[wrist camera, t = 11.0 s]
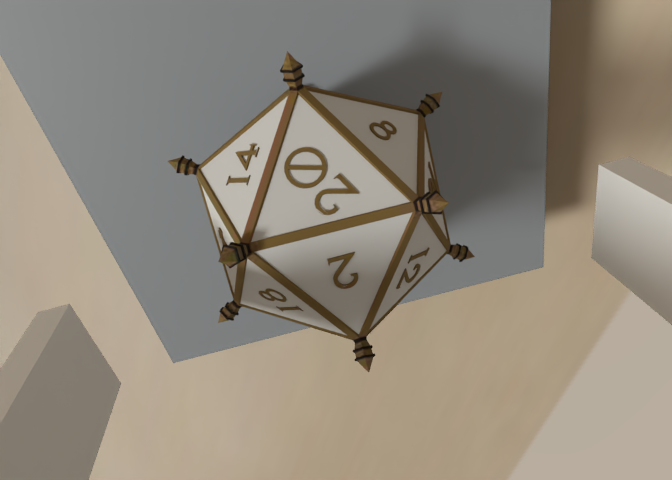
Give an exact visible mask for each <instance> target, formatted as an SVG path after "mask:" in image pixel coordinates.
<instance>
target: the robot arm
mask: <svg viewBox="0 0 672 480" xmlns="http://www.w3.org/2000/svg"><path fill="white" fill-rule="evenodd" d="M591 258H592V259H594V260H595V261H596V262H597V263H598V264H600V265H601V266H602V267H603V268H604V269H606V270H607V271H608V272H609V273H610V274H612V275H613V276H614V277H615V278H616V279H617V280H619V281H620V282H621V283H622V284H623V285H625V286H626V287H627V288H628V289H629V290H631V291H632V292H633V293H634V294H635V295H637V296H638V297H639V298H640V299H641V300H643V301H644V302H645V303H646V304H647V305H649V306H650V307H651V308H652V309H653V310H655V311H656V312H657V313H658V314H659V315H661V316H662V317H663V318H664V319H665V320H666V321H668V322H669V323H670V324H671V325H672V177H670V176H668V175H666V174H664V173H662V172H660V171H658V170H656V169H654V168H651V167H649V166H647V165H645V164H643V163H641V162H639V161H637V160H635V159H633V158H631V157H626V158H622V159H618V160H615V161H611V162H607V163H603V164H599V169H598V182H597V194H596V207H595V219H594V232H593V244H592V257H591ZM120 385H121V382H120V381H119V379H118V378H117V376H116V375H115V373H114V372H113V370H112V369H111V367H110V365H109V364H108V362H107V361H106V359H105V358H104V356H103V355H102V353H101V352H100V350H99V349H98V347H97V345H96V344H95V342H94V341H93V339H92V338H91V336H90V335H89V333H88V332H87V330H86V328H85V327H84V325H83V324H82V322H81V321H80V319H79V318H78V316H77V315H76V313H75V311H74V310H73V308H72V307H71V305H70V304H68V305H64V306H60V307H56V308H52V309H49V310H45V311H41V312H38V313H37V315H36V316H35V318H34V319H33V321H32V322H31V324H30V325H29V327H28V328H27V330H26V331H25V333H24V334H23V336H22V337H21V339H20V340H19V342H18V343H17V345H16V346H15V348H14V349H13V351H12V353H11V354H10V356H9V357H8V359H7V360H6V362H5V363H4V365H3V366H2V368H1V369H0V480H89V477H90V474H91V471H92V468H93V465H94V462H95V459H96V456H97V453H98V450H99V447H100V444H101V441H102V438H103V435H104V433H105V430H106V427H107V424H108V421H109V418H110V415H111V412H112V409H113V406H114V403H115V400H116V397H117V394H118V391H119V388H120Z"/></svg>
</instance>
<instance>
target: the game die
mask: <svg viewBox="0 0 672 480" xmlns="http://www.w3.org/2000/svg"><path fill="white" fill-rule="evenodd" d="M302 67H303V65H302V64H301V63H299V62H298V61H296V60H295V59H294V58H293V57H292V55H291V54H290V53H289V52H288V51H287V53H286V57H285V61H284V64H283V66H282V68H281V69H280V72H281V73H283V75H284V78H283V81H284V82H286V83H287V84H288V86H289V89H288V90H286V91H285V92H284V93H283V94H282V95H281V96H279V97H278V98H277V99H276V100H275V101H274V102H272V103H271V104H270V105H269V106H268V107H267V108H265V109H264V110H263V111H262V112H261V113H259V114H258V115H257V116H256V117H255V118H254V119H252V120H251V121H250V122H249V123H248V124H247V125H245V126H244V127H243V128H242V129H241V130H240V131H238V132H237V133H236V134H235V135H234V136H233V137H231V138H230V139H229V140H228V141H227V142H226V143H224V144H223V145H222V146H221V147H220V148H219V149H217V150H216V151H215V152H214V153H213V154H212V155H210V156H209V157H208V158H207V159H206V160H205V161H203V162H202V163H201V164H196V163H195V162H193V161H192V159H191V158H190V159H186V158H184V156H183V155H182V157H180V158H177V159H173V160H169V161H168V162H169V163H170V164H171V165H172V167H173V168H174V169H175V170H176V171H177V172H176V173H184V175H189V174H194V175H196V177H197V180H198V184H199V187H200V190H201V194H202V197H203V200H204V204H205V207H206V210H207V214H208V217H209V220H210V224H211V227H212V230H213V234H214V237H215V240H216V243H217V247H218V250H219V253H220V258H219V261H218V262H220V263H223V267H224V270H225V273H226V277H227V280H228V283H229V287H230V290H231V293H232V297H233V301H231V302H230V303H229V302H227V303H226V305H225V307H222V308H221V309H220V311H219V312H220V316H219V321H218V323H220V322H224V321H228V320H231V321H233V320H234V317H235V316H236V315H239V313H238V311H239V309H240V308H241V307H246V308H249V309H252V310H256V311H259V312H262V313H265V314H269V315H272V316H275V317H279V318H282V319H285V320H288V321H292V322H295V323H298V324H302V325H305V326H308V327H312V328H315V329H318V330H321V331H325V332H328V333H331V334H335V335H338V336H341V337H344V338H348V339H351V340H354V342H355V350H353V352H354V353H355V354H356V359H355V361H358V362H359V363H360V364H361V365H362V366H363V367H364V368H365V369H366V370H367V371H368V372H369V370H370V367H371V363H372V360H373V357H374V356H375V354H373V353H372V350H371V348H372V345H371V346H370V345H369V343H368V342H367V339H366V336H367V335H368V334H369V333H370V332H371V331H372V330H373V329H374V328H375V327H376V326H377V325H378V324H379V323H380V322H381V321H382V320H383V319H384V318H385V317H386V316H387V315H388V314H389V313H390V312H391V311H392V310H393V309H394V308H395V307H396V306H397V305H398V304H399V303H400V302H401V300H402V299H403V298H404V297H405V296H406V295H407V294H408V293H409V292H410V291H411V290H412V289H413V288H414V287H415V286H416V285H417V284H418V283H419V282H420V281H421V280H422V279H423V278H424V277H425V276H426V275H427V274H428V273H429V272H430V271H431V270H432V269H433V268H434V267H435V266H436V264H437V263H438V262H439V261H440V260H441V259H442V258H443V257H444V256H445V255H446V254H449V255H450V256H452V257H453V259H454V260H455V259H458V260H459V262H462V261H463V260H466V259H469V258H473V257H475V256H474V255H473V254H472V253H471V252H470V250H469V249H468V248H469V247H467V246H465V245H463V246H462V245H460V244H458V243H456V245H451V243H450V238H449V234H448V229H447V224H446V219H445V214H444V208H445V207H446V206H447V204H448V203H449V202H447V201H446V200H445V199H444V198H443V197H442V196H441V195H440V190H439V185H438V180H437V175H436V171H435V166H434V161H433V156H432V151H431V146H430V142H429V137H428V132H427V127H426V122H425V117H426V115H428V114H429V113H430V114H431V113H433V112H434V110H435V109H436V108H439V107H440V105H439V103H440V99H441V95H442V92H438V93H434V94H430V95H428V94H426V95H425V96H426V97H425V98H424V100H421V101H420V102H421V104H420V106H419V108H418V109H416V110H415V109H410V108H405V107H401V106H396V105H392V104H387V103H383V102H378V101H374V100H369V99H365V98H360V97H355V96H351V95H346V94H342V93H337V92H333V91H328V90H324V89H319V88H315V87H310V86H306V85H303V84H302V80H303V77H305V75H304V74H303V73H302V69H301V68H302Z"/></svg>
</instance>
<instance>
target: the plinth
mask: <svg viewBox="0 0 672 480" xmlns="http://www.w3.org/2000/svg"><path fill="white" fill-rule="evenodd" d="M550 15H551V0H0V55H1V57H2V59H3V60H4V62H5V64H6V66H7V68H8V69H9V71H10V73H11V75H12V76H13V78H14V80H15V82H16V84H17V85H18V87H19V89H20V91H21V92H22V94H23V96H24V98H25V100H26V101H27V103H28V105H29V107H30V108H31V110H32V112H33V114H34V116H35V117H36V119H37V121H38V123H39V124H40V126H41V128H42V130H43V132H44V133H45V135H46V137H47V139H48V141H49V142H50V144H51V146H52V148H53V149H54V151H55V153H56V155H57V157H58V158H59V160H60V162H61V164H62V165H63V167H64V169H65V171H66V173H67V174H68V176H69V178H70V180H71V181H72V183H73V185H74V187H75V189H76V190H77V192H78V194H79V196H80V197H81V199H82V201H83V203H84V205H85V206H86V208H87V210H88V212H89V214H90V215H91V217H92V219H93V221H94V222H95V224H96V226H97V228H98V230H99V231H100V233H101V235H102V237H103V238H104V240H105V242H106V244H107V246H108V247H109V249H110V251H111V253H112V254H113V256H114V258H115V260H116V262H117V263H118V265H119V267H120V269H121V270H122V272H123V274H124V276H125V278H126V279H127V281H128V283H129V285H130V287H131V288H132V290H133V292H134V294H135V295H136V297H137V299H138V301H139V303H140V304H141V306H142V308H143V310H144V311H145V313H146V315H147V317H148V319H149V320H150V322H151V324H152V326H153V327H154V329H155V331H156V333H157V335H158V336H159V338H160V340H161V342H162V343H163V345H164V347H165V349H166V351H167V352H168V354H169V356H170V358H171V360H172V361H173V363H175V362H179V361H183V360H187V359H191V358H195V357H198V356H202V355H206V354H210V353H214V352H218V351H222V350H225V349H229V348H233V347H237V346H241V345H245V344H249V343H252V342H256V341H260V340H264V339H268V338H272V337H276V336H279V335H283V334H287V333H291V332H295V331H299V330H303V329H306V328H310V327H308V326H305V325H302V324H298V323H295V322H292V321H288V320H285V319H282V318H279V317H275V316H272V315H269V314H265V313H262V312H259V311H256V310H252V309H249V308H246V307H241V308H240V309H239V311H238V313H239V315H236V316H235V317H234V320H233V321H231V320H228V321H224V322H220V323H218V321H219V316H220V312H219V311H220V309H221V308H222V307H225V305H226V303H227V302H229V303H230V302H231V301H233V297H232V293H231V290H230V287H229V283H228V280H227V277H226V273H225V270H224V267H223V263H220V262H218V261H219V258H220V253H219V250H218V247H217V243H216V240H215V237H214V234H213V230H212V227H211V224H210V220H209V217H208V214H207V210H206V207H205V204H204V200H203V197H202V194H201V190H200V187H199V184H198V180H197V177H196V175H194V174H189V175H184V173H176V172H177V171H176V170H175V169H174V168H173V167H172V165H171V164H170V163H169V162H168V161H169V160H173V159H177V158H180V157H182V155H183V156H184V158H186V159H190V158H191V159H192V161H193V162H195V163H196V164H201V163H202V162H203V161H205V160H206V159H207V158H208V157H209V156H210V155H212V154H213V153H214V152H215V151H216V150H217V149H219V148H220V147H221V146H222V145H223V144H224V143H226V142H227V141H228V140H229V139H230V138H231V137H233V136H234V135H235V134H236V133H237V132H238V131H240V130H241V129H242V128H243V127H244V126H245V125H247V124H248V123H249V122H250V121H251V120H252V119H254V118H255V117H256V116H257V115H258V114H259V113H261V112H262V111H263V110H264V109H265V108H267V107H268V106H269V105H270V104H271V103H272V102H274V101H275V100H276V99H277V98H278V97H279V96H281V95H282V94H283V93H284V92H285V91H286V90H288V89H289V86H288V84H287V83H286V82H284V81H283V78H284V75H283V73H281V72H280V69H281V68H282V66H283V64H284V61H285V57H286V53H287V51H288V52H289V53H290V54H291V55H292V57H293V58H294V59H295V60H296V61H298V62H299V63H301V64H302V65H303V67H302V68H301V69H302V73H303V74H304V75H305V77H303V80H302V84H303V85H306V86H310V87H315V88H319V89H324V90H328V91H333V92H337V93H342V94H346V95H351V96H355V97H360V98H365V99H369V100H374V101H378V102H383V103H387V104H392V105H396V106H401V107H405V108H410V109H415V110H416V109H418V108H419V106H420V104H421V102H420V101H421V100H424V98H425V97H426V96H425V95H426V94H428V95H430V94H434V93H438V92H442V95H441V99H440V103H439V105H440V107H439V108H436V109H435V110H434V112H433V113H431V114H430V113H429V114H428V115H426V117H425V122H426V127H427V132H428V137H429V142H430V146H431V151H432V156H433V161H434V166H435V171H436V175H437V180H438V185H439V190H440V195H441V196H442V197H443V198H444V199H445V200H446V201H447V202H449V203H448V204H447V206H446V207H445V208H444V214H445V219H446V224H447V229H448V234H449V238H450V243H451V245H456V243H458V244H460V245H462V246H463V245H465V246H467V247H469V248H468V249H469V250H470V252H471V253H472V254H473V255H474V256H475V257H473V258H469V259H466V260H463V261H462V262H459V260H458V259H455V260H454V259H453V257H452V256H450V255H449V254H446V255H445V256H444V257H443V258H442V259H441V260H440V261H439V262H438V263H437V264H436V266H435V267H434V268H433V269H432V270H431V271H430V272H429V273H428V274H427V275H426V276H425V277H424V278H423V279H422V280H421V281H420V282H419V283H418V284H417V285H416V286H415V287H414V288H413V289H412V290H411V291H410V292H409V293H408V294H407V295H406V296H405V297H404V298H403V299H402V300H401V302H400V303H399V304H403V303H407V302H410V301H414V300H418V299H422V298H426V297H430V296H434V295H437V294H441V293H445V292H449V291H453V290H457V289H461V288H464V287H468V286H472V285H476V284H480V283H484V282H488V281H491V280H495V279H499V278H503V277H507V276H511V275H515V274H518V273H522V272H526V271H530V270H534V269H538V268H542V267H543V264H544V229H545V193H546V157H547V122H548V86H549V51H550ZM399 304H398V305H399Z"/></svg>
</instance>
